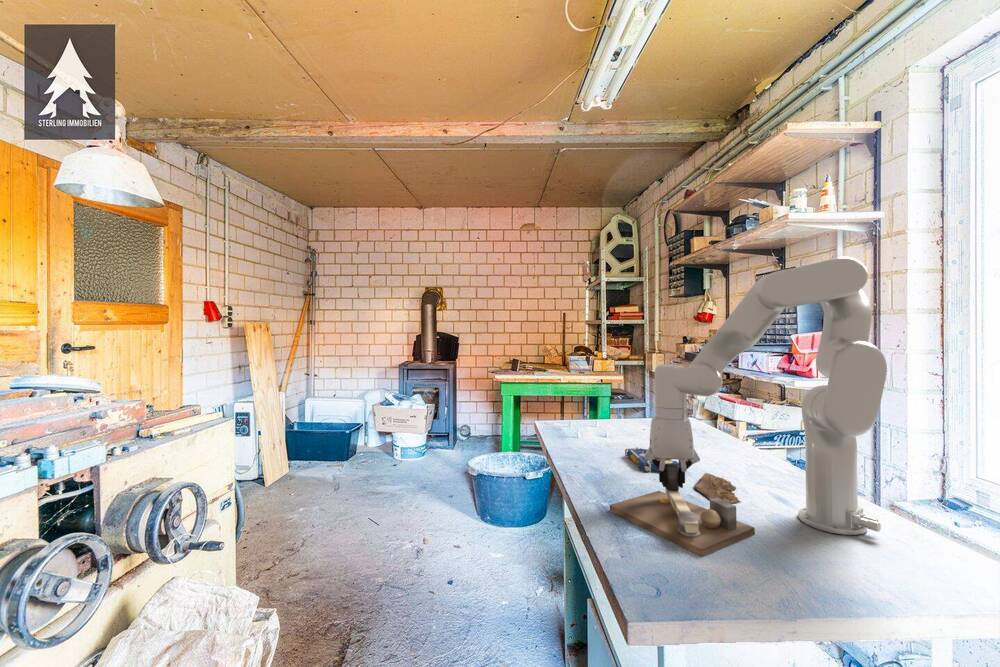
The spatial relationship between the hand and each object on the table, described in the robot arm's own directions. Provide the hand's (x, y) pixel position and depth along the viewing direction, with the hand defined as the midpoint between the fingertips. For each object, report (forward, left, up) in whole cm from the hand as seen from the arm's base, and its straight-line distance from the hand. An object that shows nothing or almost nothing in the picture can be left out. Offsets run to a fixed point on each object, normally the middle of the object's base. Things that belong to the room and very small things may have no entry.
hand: (672, 484), depth 111 cm
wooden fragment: (+3, -21, -6) cm, 22 cm away
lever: (-7, +6, -3) cm, 10 cm away
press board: (-6, +6, -6) cm, 10 cm away
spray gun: (+27, -25, -6) cm, 37 cm away
